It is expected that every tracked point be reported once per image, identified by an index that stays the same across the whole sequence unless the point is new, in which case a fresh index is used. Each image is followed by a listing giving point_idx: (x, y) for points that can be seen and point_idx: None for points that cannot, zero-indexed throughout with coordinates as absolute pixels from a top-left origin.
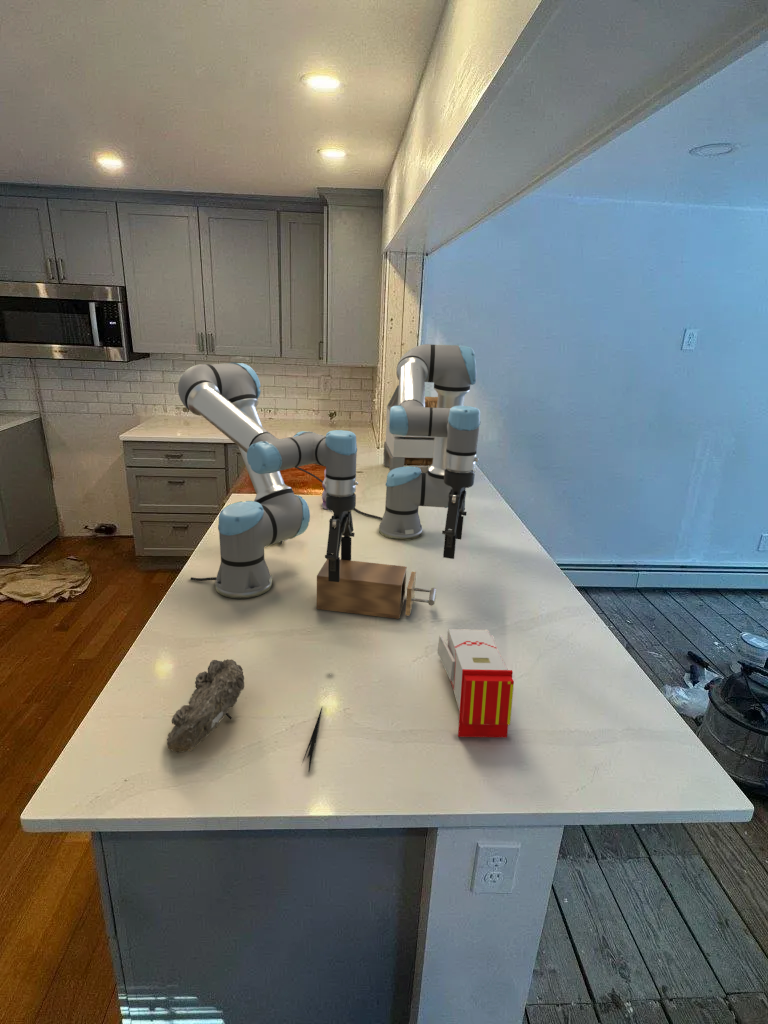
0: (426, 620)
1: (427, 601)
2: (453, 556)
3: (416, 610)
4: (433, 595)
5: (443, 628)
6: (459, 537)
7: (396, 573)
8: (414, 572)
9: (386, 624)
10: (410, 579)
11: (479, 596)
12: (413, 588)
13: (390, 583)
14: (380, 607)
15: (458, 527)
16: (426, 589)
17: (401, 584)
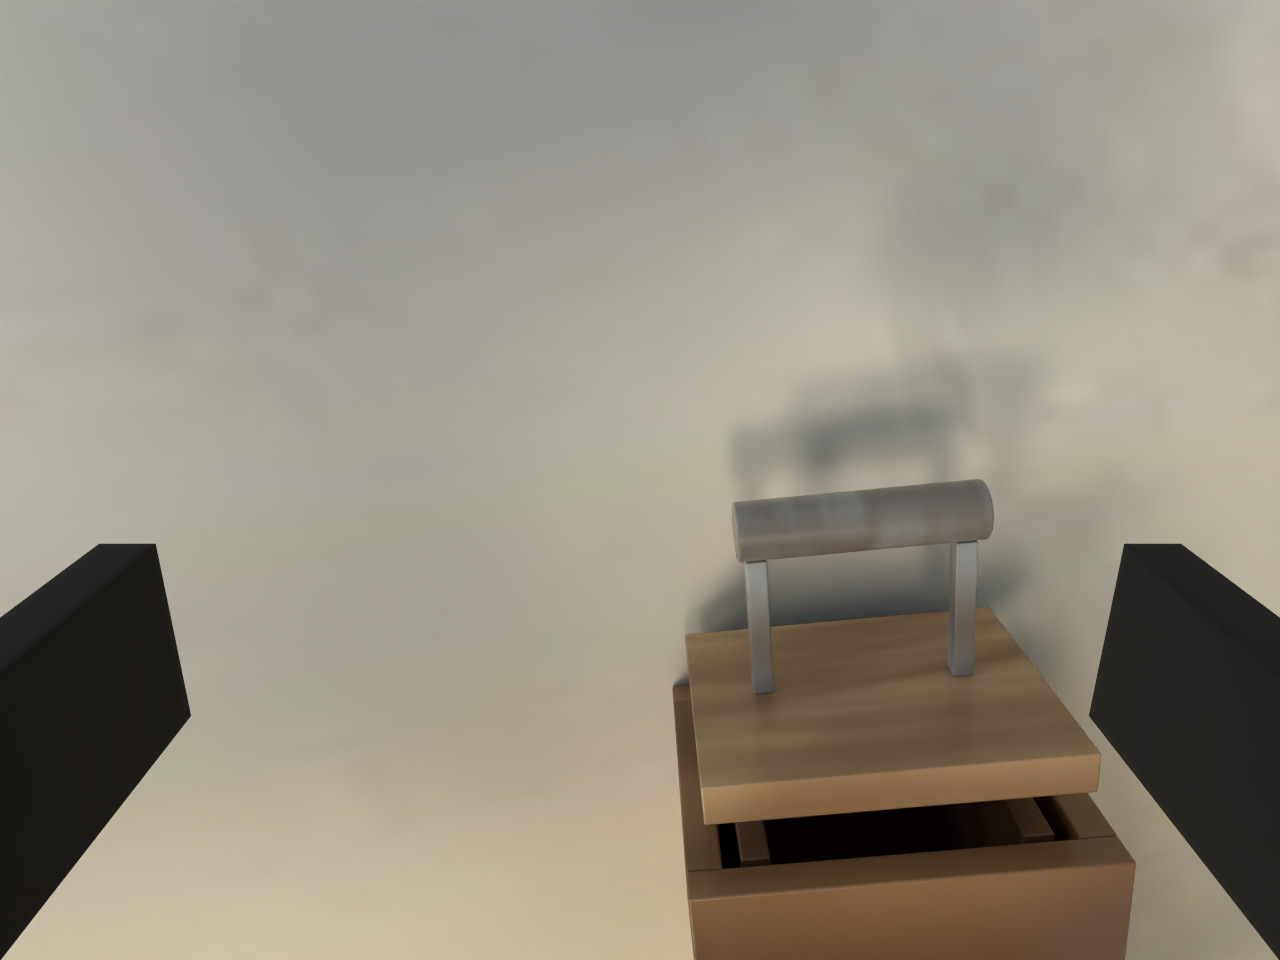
0: (968, 474)
1: (976, 545)
2: (1203, 575)
3: (832, 572)
4: (897, 519)
5: (1067, 327)
6: (140, 596)
7: (881, 947)
8: (719, 798)
9: (1081, 715)
10: (892, 801)
11: (384, 80)
12: (861, 711)
13: (1113, 948)
14: None
15: (4, 774)
16: (755, 595)
17: (1114, 864)
